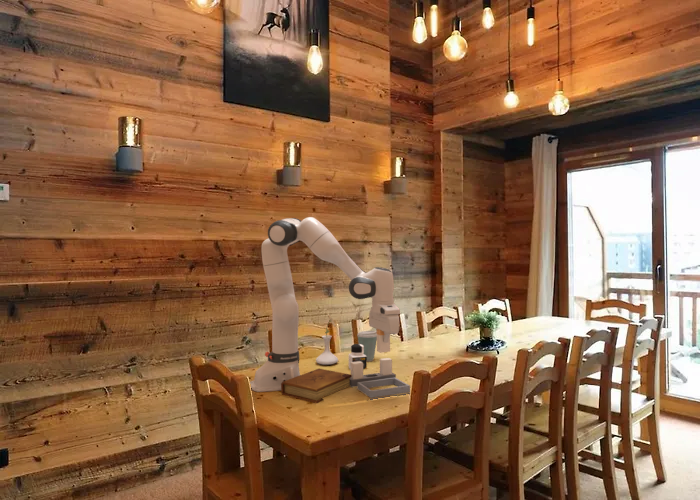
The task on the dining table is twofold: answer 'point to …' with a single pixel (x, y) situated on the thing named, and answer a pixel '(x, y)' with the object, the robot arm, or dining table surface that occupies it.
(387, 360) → the block
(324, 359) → the flower in vase
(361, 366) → the block
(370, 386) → the tray
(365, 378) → the fuse block
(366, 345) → the disposable coffee cup
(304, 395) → the diary
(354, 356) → the medicine bottle
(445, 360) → the dining table surface
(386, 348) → the marked fuse
